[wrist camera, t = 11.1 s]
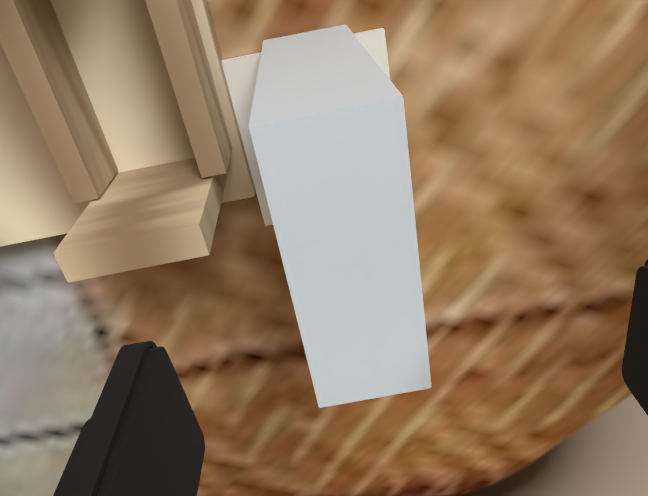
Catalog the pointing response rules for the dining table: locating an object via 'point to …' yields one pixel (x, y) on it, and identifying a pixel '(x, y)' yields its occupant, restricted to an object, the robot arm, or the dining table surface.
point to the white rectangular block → (342, 212)
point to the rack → (115, 132)
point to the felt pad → (242, 89)
